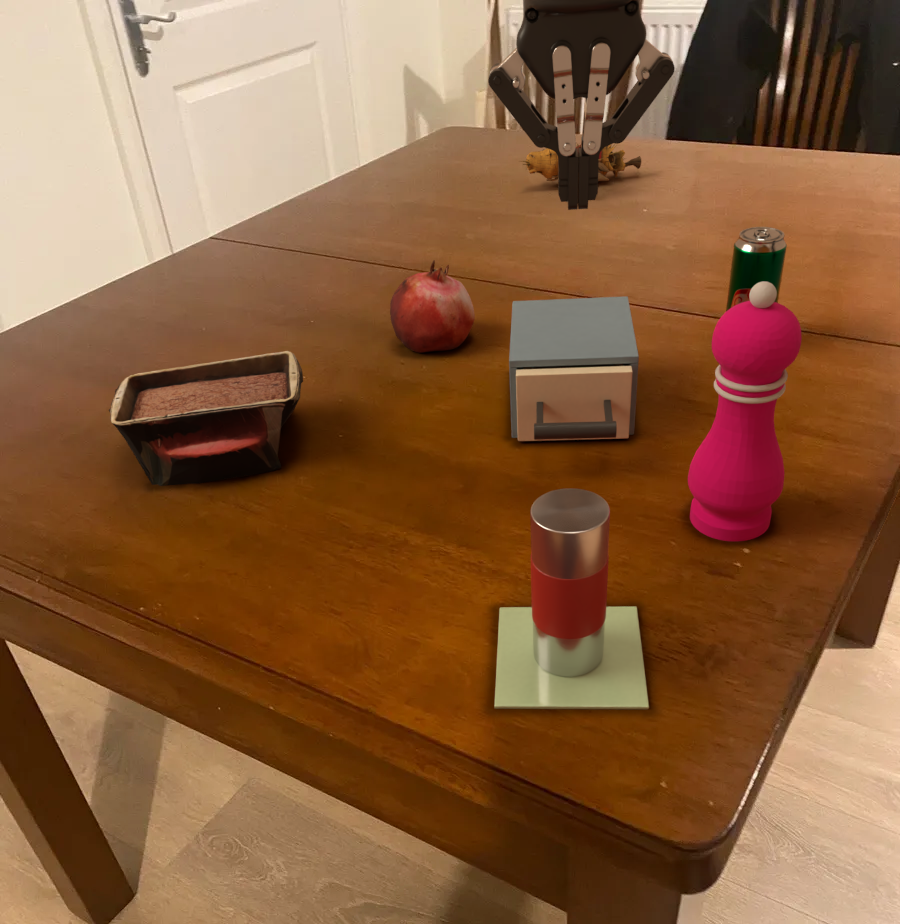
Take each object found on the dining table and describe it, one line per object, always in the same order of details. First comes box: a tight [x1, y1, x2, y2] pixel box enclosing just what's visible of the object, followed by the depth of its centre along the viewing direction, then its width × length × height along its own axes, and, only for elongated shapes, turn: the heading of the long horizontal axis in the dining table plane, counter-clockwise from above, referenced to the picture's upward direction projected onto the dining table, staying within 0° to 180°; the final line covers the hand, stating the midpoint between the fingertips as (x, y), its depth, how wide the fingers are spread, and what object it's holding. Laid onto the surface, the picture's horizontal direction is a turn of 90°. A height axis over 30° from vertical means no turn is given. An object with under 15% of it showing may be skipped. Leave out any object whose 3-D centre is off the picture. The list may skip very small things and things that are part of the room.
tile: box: [493, 605, 650, 710], centre depth 64 cm, size 10×10×1 cm
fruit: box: [389, 259, 476, 354], centre depth 101 cm, size 9×10×10 cm
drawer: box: [516, 364, 632, 442], centre depth 85 cm, size 18×10×7 cm, turn 176°
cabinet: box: [508, 295, 640, 439], centre depth 89 cm, size 13×11×8 cm
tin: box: [529, 487, 611, 677], centre depth 60 cm, size 5×5×12 cm
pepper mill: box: [687, 281, 803, 542], centre depth 68 cm, size 7×7×20 cm
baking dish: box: [108, 350, 304, 487], centre depth 87 cm, size 14×18×10 cm
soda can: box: [725, 226, 788, 312], centre depth 95 cm, size 5×5×12 cm
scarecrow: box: [519, 143, 642, 182], centre depth 144 cm, size 17×16×8 cm
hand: (578, 205), depth 68 cm, fingers closed
